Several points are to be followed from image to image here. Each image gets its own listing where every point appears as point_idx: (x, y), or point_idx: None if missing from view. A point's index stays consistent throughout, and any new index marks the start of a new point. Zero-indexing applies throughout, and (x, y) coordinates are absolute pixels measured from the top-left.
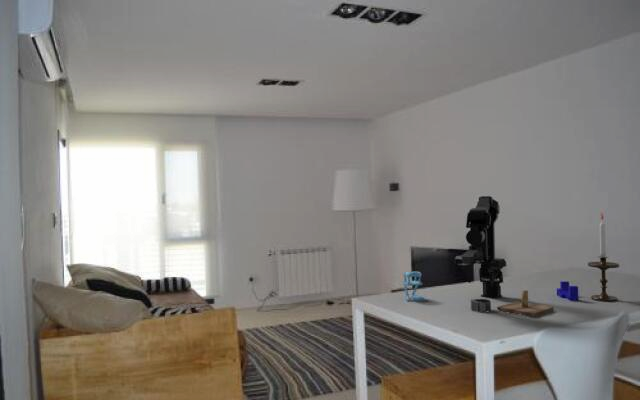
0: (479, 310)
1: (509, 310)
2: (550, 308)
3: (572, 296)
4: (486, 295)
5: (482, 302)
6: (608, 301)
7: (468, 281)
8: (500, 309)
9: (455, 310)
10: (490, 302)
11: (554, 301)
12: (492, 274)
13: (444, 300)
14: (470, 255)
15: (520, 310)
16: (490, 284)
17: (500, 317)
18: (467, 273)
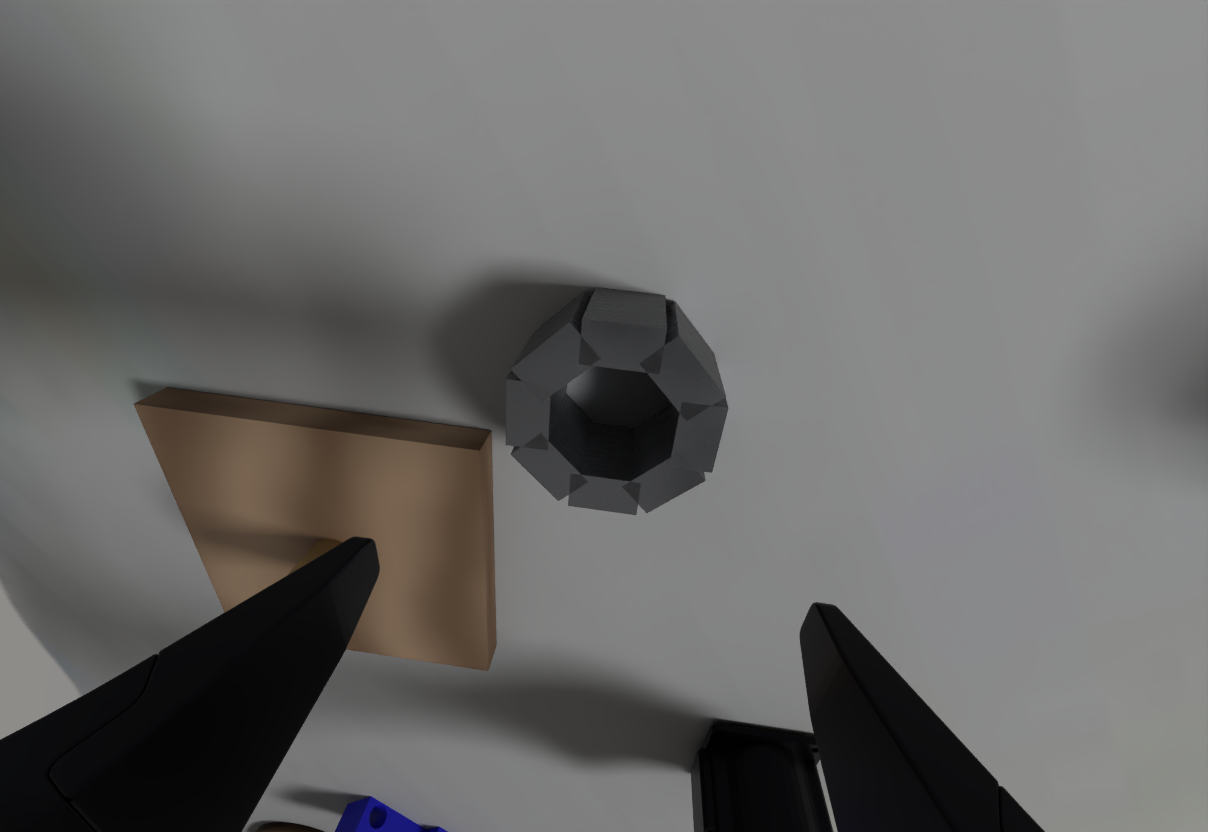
0: (582, 296)
1: (362, 426)
2: (223, 601)
3: (351, 827)
4: (778, 746)
5: (541, 351)
6: (264, 826)
7: (841, 620)
8: (453, 435)
9: (846, 187)
10: (508, 438)
11: (412, 771)
12: (20, 733)
13: (1098, 530)
14: None
15: (264, 436)
16: (340, 547)
17: (311, 214)
18: (937, 807)
